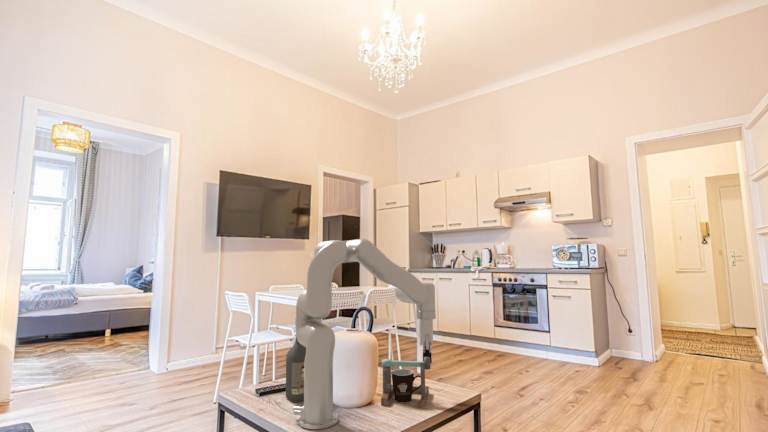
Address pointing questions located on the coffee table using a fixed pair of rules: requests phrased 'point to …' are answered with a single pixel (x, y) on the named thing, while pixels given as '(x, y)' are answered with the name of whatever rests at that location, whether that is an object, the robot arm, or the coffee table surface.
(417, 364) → the clip
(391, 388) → the dock
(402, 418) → the coffee table surface
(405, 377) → the coffee mug
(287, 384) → the liquor
